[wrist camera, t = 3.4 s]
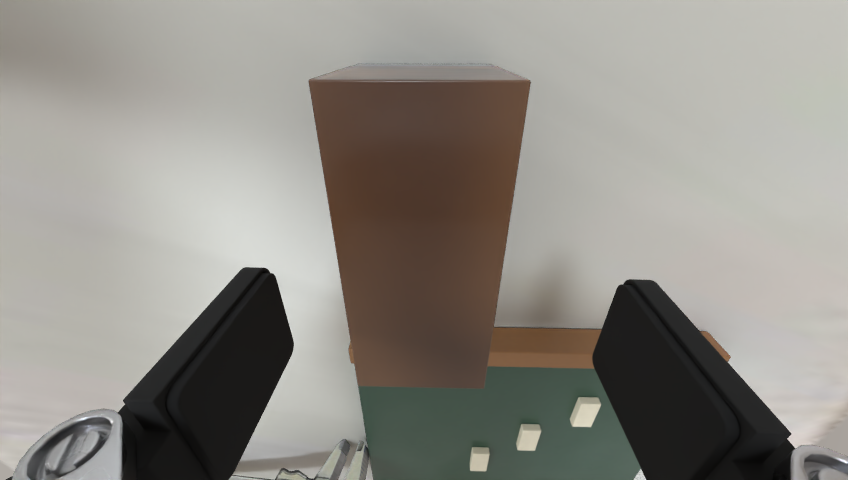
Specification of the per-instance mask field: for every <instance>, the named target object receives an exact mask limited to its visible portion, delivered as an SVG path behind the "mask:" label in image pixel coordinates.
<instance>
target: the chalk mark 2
mask: <svg viewBox="0 0 848 480" xmlns="http://www.w3.org/2000/svg"><path fill="white" fill-rule="evenodd" d="M540 434H541V429H540V425H539V424H521V427H520V431H519V435H518V438H517V442H516V445H517V450H524V451H535V449H536V446H537V443H538V440H539V437H540Z"/></svg>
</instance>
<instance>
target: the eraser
mask: <svg viewBox="0 0 848 480" xmlns="http://www.w3.org/2000/svg"><path fill="white" fill-rule="evenodd" d="M530 84H531V82H530V80H528V79H526V78H523V77H521V76H519V75H516V74H514V73H512V72H509V71H507V70H505V69H502V68H500V67H498V66H494V65H492V64H356V65H353V66H349V67H346V68H343V69H340V70H337V71H334V72H331V73H328V74H325V75H322V76H319V77H315V78H312V79H310V80H309V86H310V93H311V99H312V105H313V111H314V117H315V123H316V130H317V136H318V142H319V148H320V154H321V160H322V167H323V173H324V179H325V185H326V191H327V198H328V204H329V210H330V216H331V222H332V228H333V235H334V241H335V247H336V253H337V259H338V265H339V272H340V278H341V284H342V290H343V296H344V302H345V309H346V315H347V321H348V327H349V333H350V339H351V346H352V352H353V358H354V364H355V370H356V376H357V383H358V386H380V387H424V388H467V389H484V387H485V380H486V373H487V367H488V360H489V354H490V347H491V341H492V334H493V327H494V321H495V314H496V308H497V301H498V294H499V288H500V281H501V275H502V268H503V261H504V255H505V248H506V242H507V235H508V229H509V222H510V215H511V209H512V202H513V196H514V189H515V182H516V176H517V169H518V163H519V156H520V149H521V143H522V136H523V130H524V123H525V117H526V110H527V103H528V97H529V90H530Z"/></svg>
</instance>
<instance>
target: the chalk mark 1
mask: <svg viewBox="0 0 848 480" xmlns="http://www.w3.org/2000/svg"><path fill="white" fill-rule="evenodd" d="M489 455H490V453H489V448H488V447H472V450H471V457H470V471H486V470H487V465H488V460H489Z"/></svg>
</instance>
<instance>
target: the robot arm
mask: <svg viewBox="0 0 848 480" xmlns="http://www.w3.org/2000/svg"><path fill="white" fill-rule="evenodd" d="M293 347H294V342H293V338H292V334H291V331H290V327H289V323H288V320H287V316H286V313H285V309H284V305H283V302H282V298H281V295H280V291H279V287H278V284H277V280H276V277H275V275H274V274H272V273H270V272H269V270H268V269H266V268H249V267H246V268H243V269H242V270H240V271H239V273H238V274H237V275H236V276H235V277H234V278H233V279H232V280H231V281H230V282H229V284H228V285H227V286H226V287H225V288H224V289H223V290H222V291H221V292H220V294H219V295H218V296H217V297H216V298H215V299H214V300H213V301H212V302H211V303H210V305H209V306H208V307H207V308H206V309H205V310H204V311H203V312H202V313H201V315H200V316H199V317H198V318H197V319H196V320H195V321H194V322H193V323H192V324H191V326H190V327H189V328H188V329H187V330H186V331H185V332H184V333H183V334H182V336H181V337H180V338H179V339H178V340H177V341H176V342H175V343H174V344H173V346H172V347H171V348H170V349H169V350H168V351H167V352H166V353H165V354H164V355H163V357H162V358H161V359H160V360H159V361H158V362H157V363H156V364H155V365H154V367H153V368H152V369H151V370H150V371H149V372H148V373H147V374H146V375H145V376H144V378H143V379H142V380H141V381H140V382H139V383H138V384H137V385H136V386H135V388H134V389H133V390H132V391H131V392H130V393H129V394H128V395H127V396H126V397H125V399H124V400H123V402H124V403H125V405H124V406H123V407H122V409H121V410H120V411H119V412H118V413H117V412H116V411H114V410H109V409H98V410H92V411H88V412H85V413H82V414H80V415H77V416H75V417H73V418H71V419H69V420H67V421H65V422H63V423H61V424H59V425H58V426H56V427H55V428H53V429H52V430H51V431H49V432H48V433H46V434H45V435H44V436H42V437H41V438H40V439H39V440H38V441H37V442H36V443H35V444H34V445H32V446H31V447H30V448H29V450H28V451H27V452H26V453H25V455H24V456H23V457H22V458H21V460H20V461H19V463H18V465H17V467H16V469H15V471H14V474H13V476H12V477H10V478H8V479H6V480H229V479H230V477H231V476H232V474H233V473H234V471H235V469H236V467H237V465H238V463H239V461H240V459H241V457H242V455H243V453H244V451H245V449H246V447H247V444H248V442H249V440H250V438H251V436H252V434H253V432H254V430H255V428H256V426H257V424H258V422H259V420H260V418H261V416H262V414H263V412H264V410H265V408H266V406H267V404H268V402H269V400H270V398H271V396H272V394H273V392H274V390H275V388H276V386H277V383H278V381H279V379H280V377H281V375H282V373H283V371H284V369H285V367H286V365H287V363H288V361H289V359H290V357H291V355H292V352H293ZM592 362H593V366H594V369H595V371H596V373H597V375H598V377H599V379H600V381H601V384H602V386H603V388H604V390H605V392H606V394H607V396H608V399H609V401H610V403H611V405H612V407H613V409H614V411H615V414H616V416H617V418H618V420H619V422H620V424H621V426H622V429H623V431H624V433H625V435H626V437H627V439H628V441H629V444H630V446H631V448H632V450H633V452H634V454H635V456H636V459H637V461H638V463H639V465H640V467H641V469H642V471H643V474H644V476H645V478H646V480H848V456H845V455H843V454H841V453H838V452H836V451H833V450H831V449H828V448H824V447H820V446H815V445H801V446H799V447H798V448H796V449H795V448H794V446H793V445H792V444H791V443H790V442H789V441H788V440H787V438H788V437H789V436H790V435H791V433H790V432H789V430H788V429H787V428H786V427H785V426H784V425H783V424H782V423H781V421H780V420H779V419H778V418H777V417H776V416H775V415H774V414H773V413H772V411H771V410H770V409H769V408H768V407H767V406H766V405H765V404H764V403H763V401H762V400H761V399H760V398H759V397H758V396H757V395H756V394H755V392H754V391H753V390H752V389H751V388H750V387H749V386H748V385H747V384H746V382H745V381H744V380H743V379H742V378H741V377H740V376H739V375H738V374H737V372H736V371H735V370H734V369H733V368H732V367H731V366H730V365H729V363H728V362H727V361H726V360H725V359H724V358H723V357H722V356H721V355H720V353H719V352H718V351H717V350H716V349H715V348H714V347H713V346H712V345H711V343H710V342H709V341H708V340H707V339H706V338H705V337H704V336H703V334H702V333H701V332H700V331H699V330H698V329H697V328H696V327H695V326H694V324H693V323H692V322H691V321H690V320H689V319H688V318H687V317H686V315H685V314H684V313H683V312H682V311H681V310H680V309H679V308H678V307H677V305H676V304H675V303H674V302H673V301H672V300H671V299H670V298H669V297H668V295H667V294H666V293H665V292H664V291H663V290H662V289H661V288H660V286H659V285H658V284H657V283H656V282H654V281H652V280H631V279H630V280H627V281H626V282H625V283H624V284H623V285H619V286H618V288H617V290H616V293H615V295H614V298H613V301H612V303H611V306H610V309H609V311H608V314H607V317H606V319H605V322H604V325H603V327H602V330H601V333H600V335H599V338H598V341H597V343H596V346H595V349H594V352H593V355H592Z"/></svg>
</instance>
